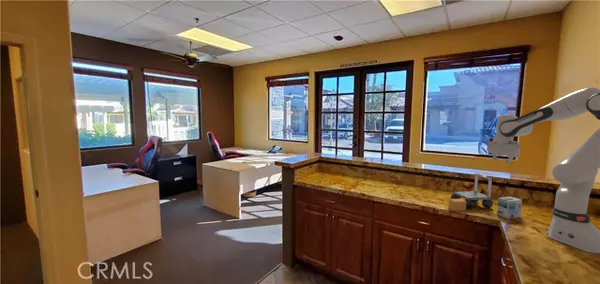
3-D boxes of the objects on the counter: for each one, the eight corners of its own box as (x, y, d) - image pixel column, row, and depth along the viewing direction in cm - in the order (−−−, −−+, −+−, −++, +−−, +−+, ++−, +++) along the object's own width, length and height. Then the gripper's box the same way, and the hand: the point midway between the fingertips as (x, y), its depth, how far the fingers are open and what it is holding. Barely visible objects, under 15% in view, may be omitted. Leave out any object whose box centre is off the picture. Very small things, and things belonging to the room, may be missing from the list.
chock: (465, 210, 166) (466, 201, 165) (454, 210, 165) (454, 201, 164) (460, 207, 171) (460, 198, 170) (448, 208, 170) (449, 199, 169)
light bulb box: (507, 218, 153) (509, 201, 152) (496, 214, 159) (497, 197, 158) (520, 217, 156) (522, 199, 155) (509, 213, 162) (511, 196, 161)
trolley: (492, 208, 170) (495, 177, 168) (464, 209, 167) (467, 178, 165) (476, 201, 183) (479, 173, 181) (450, 202, 180) (452, 173, 178)
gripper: (524, 141, 153) (521, 165, 154) (494, 138, 173) (492, 159, 174) (514, 142, 152) (512, 165, 154) (486, 138, 172) (484, 159, 174)
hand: (501, 161), depth 164 cm, fingers open, 8 cm apart
